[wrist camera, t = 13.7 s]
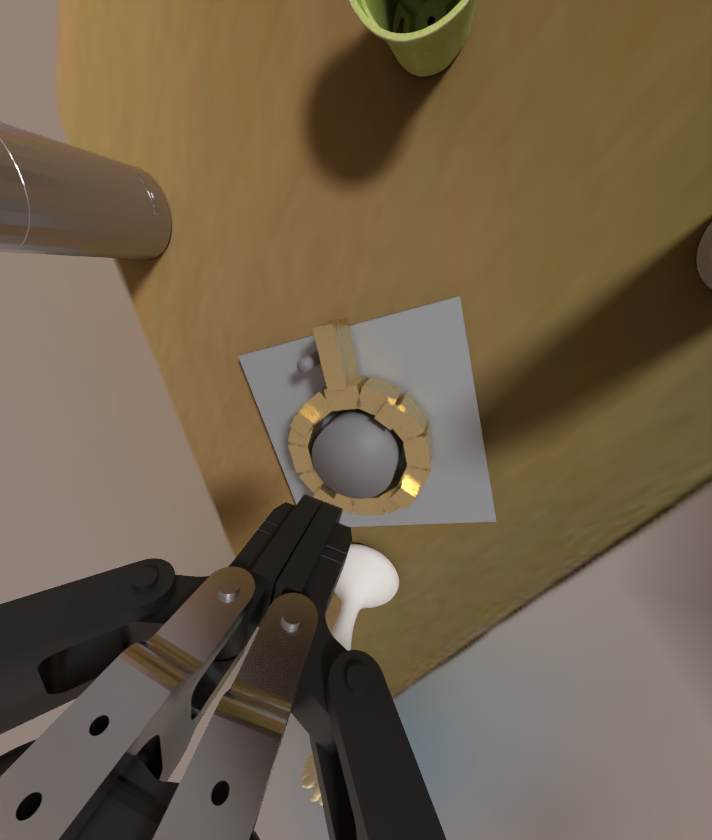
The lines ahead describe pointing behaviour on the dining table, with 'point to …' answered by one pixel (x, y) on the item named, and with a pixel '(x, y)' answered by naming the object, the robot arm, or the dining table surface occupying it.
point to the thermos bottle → (705, 257)
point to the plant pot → (419, 30)
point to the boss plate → (426, 380)
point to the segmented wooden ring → (371, 397)
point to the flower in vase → (356, 611)
